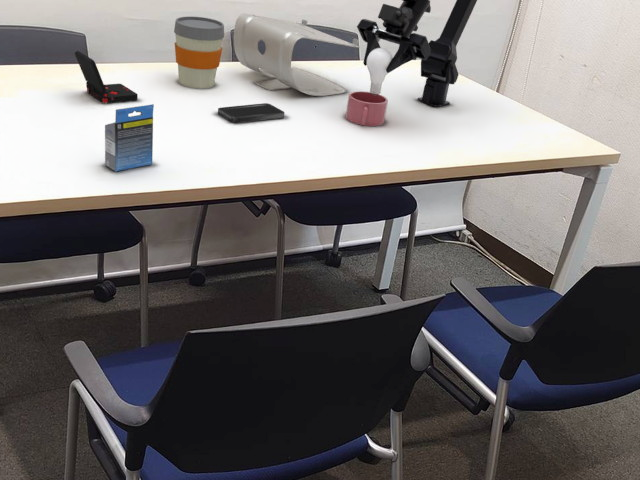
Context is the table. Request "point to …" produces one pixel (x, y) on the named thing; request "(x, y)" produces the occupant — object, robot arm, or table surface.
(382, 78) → the lightbulb
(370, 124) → the mug
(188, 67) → the reusable coffee cup
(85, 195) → the table surface
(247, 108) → the phone
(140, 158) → the blue upright rectangular box
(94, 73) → the handheld gaming console
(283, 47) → the beige plastic curved shell
